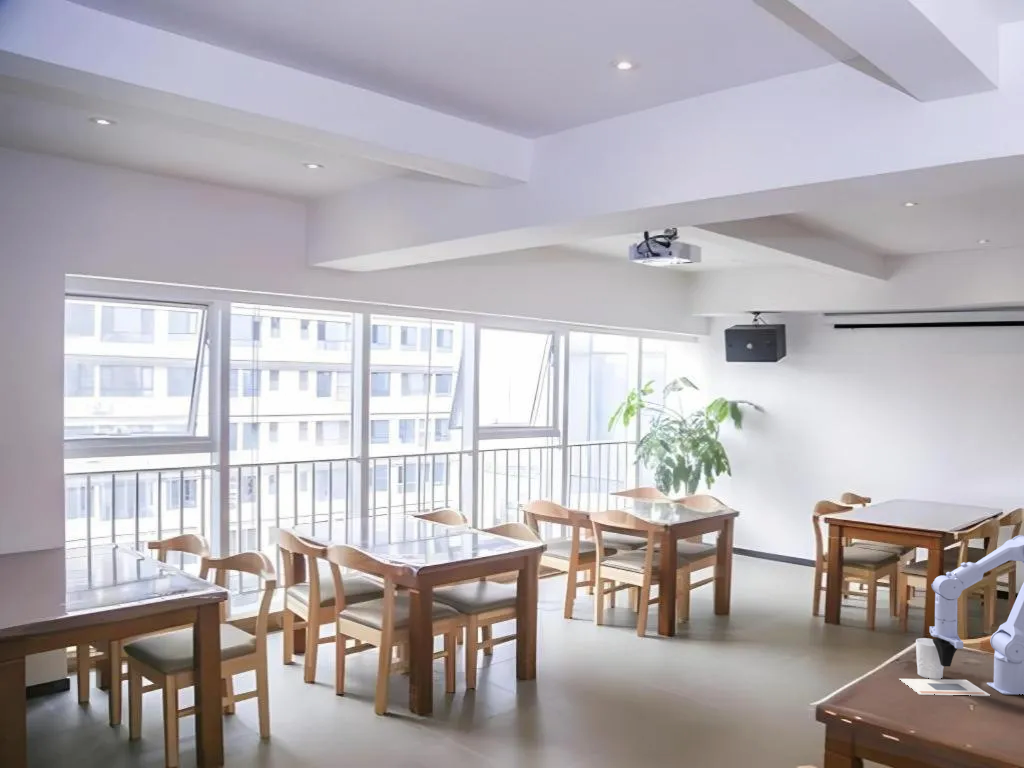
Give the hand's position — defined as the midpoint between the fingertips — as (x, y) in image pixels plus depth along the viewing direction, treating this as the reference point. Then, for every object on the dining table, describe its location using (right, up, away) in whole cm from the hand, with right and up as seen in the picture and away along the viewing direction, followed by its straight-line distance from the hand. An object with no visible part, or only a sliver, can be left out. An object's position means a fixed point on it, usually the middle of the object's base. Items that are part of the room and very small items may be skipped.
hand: (945, 665), depth 233 cm
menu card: (-1, -6, -1) cm, 6 cm away
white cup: (0, -6, +8) cm, 10 cm away
